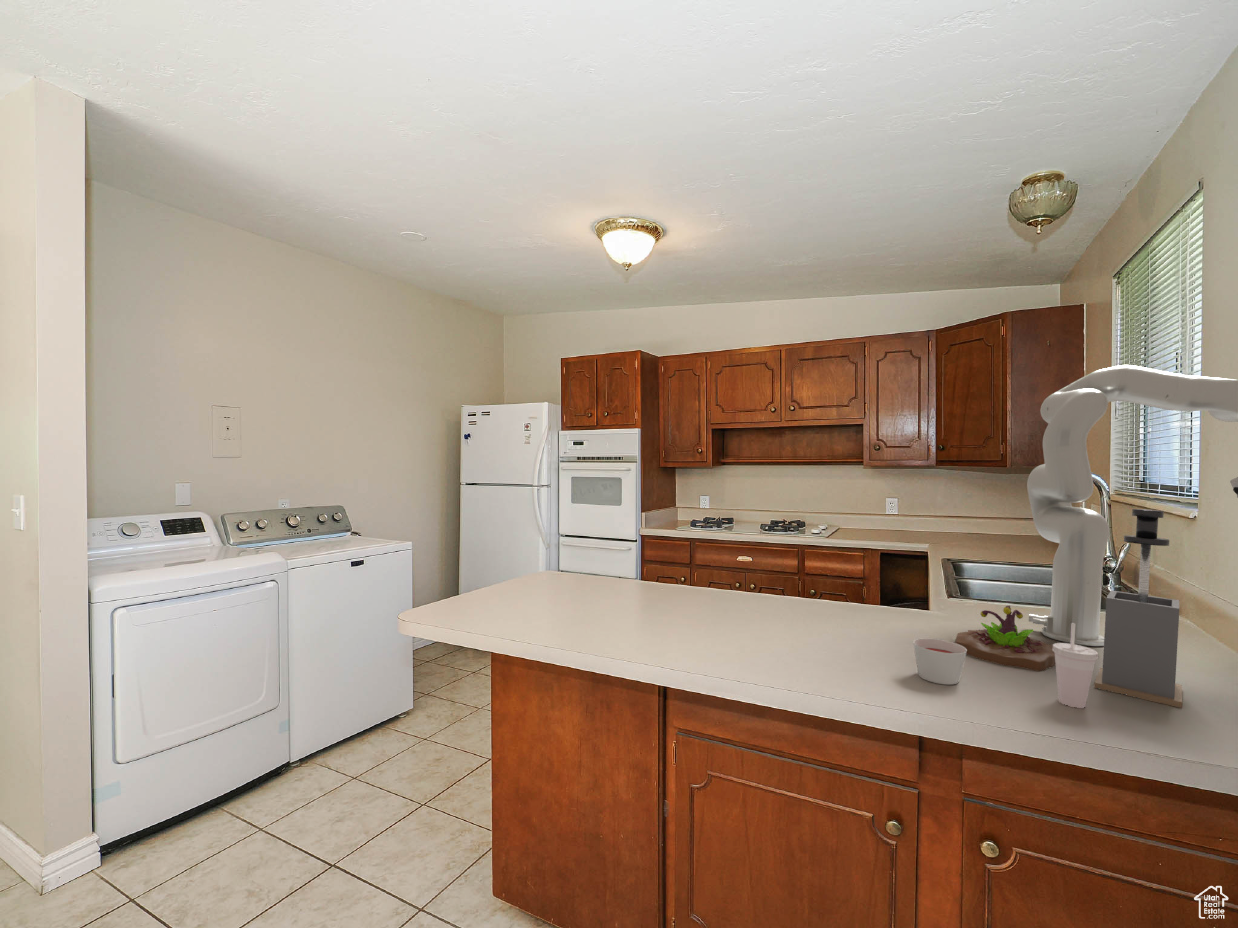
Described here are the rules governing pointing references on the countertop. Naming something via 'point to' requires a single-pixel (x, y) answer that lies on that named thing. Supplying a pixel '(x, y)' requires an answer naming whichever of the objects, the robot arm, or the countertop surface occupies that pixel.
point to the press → (1141, 648)
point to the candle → (939, 660)
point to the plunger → (1146, 544)
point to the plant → (1007, 644)
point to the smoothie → (1074, 671)
